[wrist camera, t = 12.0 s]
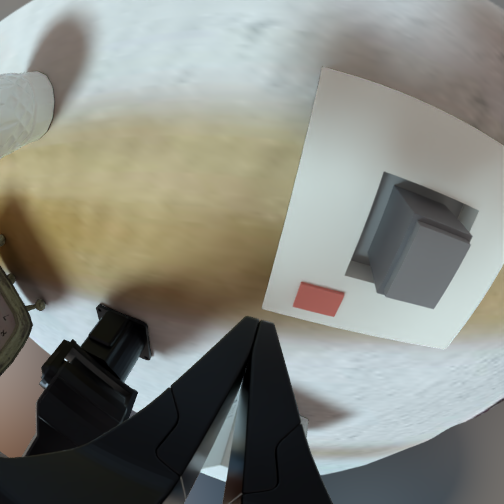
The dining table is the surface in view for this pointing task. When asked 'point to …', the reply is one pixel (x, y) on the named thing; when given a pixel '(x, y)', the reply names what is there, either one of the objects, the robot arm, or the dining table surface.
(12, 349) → the tabletop clock
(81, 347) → the robot arm
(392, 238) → the plug
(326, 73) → the socket plate
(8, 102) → the white cup
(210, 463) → the skincare box
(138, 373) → the dining table surface
